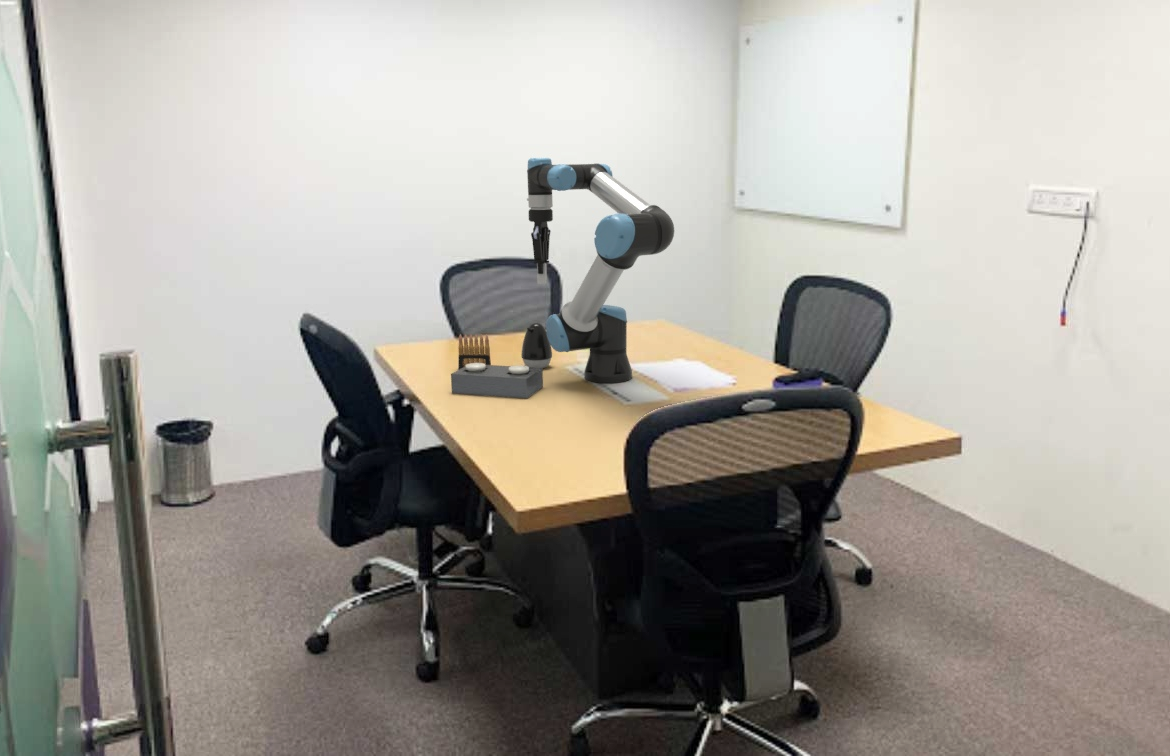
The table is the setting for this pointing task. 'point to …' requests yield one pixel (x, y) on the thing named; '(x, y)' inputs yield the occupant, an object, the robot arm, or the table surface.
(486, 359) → the ammunition clip
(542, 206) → the robot arm
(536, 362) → the pump dispenser
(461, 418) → the table surface
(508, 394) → the housing
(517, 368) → the knob near
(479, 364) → the knob far
